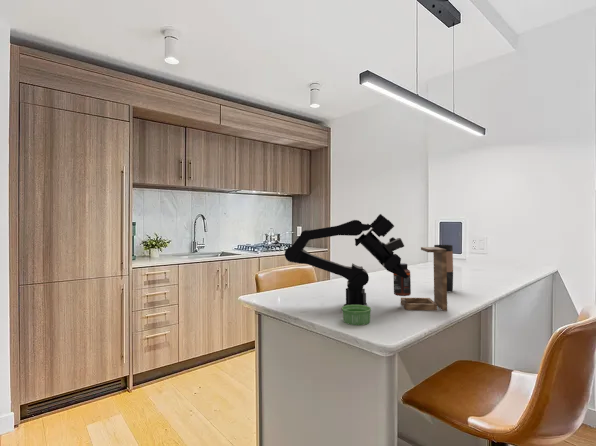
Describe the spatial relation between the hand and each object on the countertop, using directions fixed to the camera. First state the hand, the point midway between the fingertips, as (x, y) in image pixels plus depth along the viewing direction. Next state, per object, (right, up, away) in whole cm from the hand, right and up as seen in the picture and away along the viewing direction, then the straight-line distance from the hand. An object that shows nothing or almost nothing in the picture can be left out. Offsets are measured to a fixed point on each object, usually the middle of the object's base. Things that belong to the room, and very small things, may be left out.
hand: (405, 276), depth 126 cm
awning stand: (+6, -11, -1) cm, 12 cm away
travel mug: (+25, -11, +27) cm, 39 cm away
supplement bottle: (-1, -7, 0) cm, 7 cm away
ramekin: (-21, -11, -19) cm, 30 cm away
